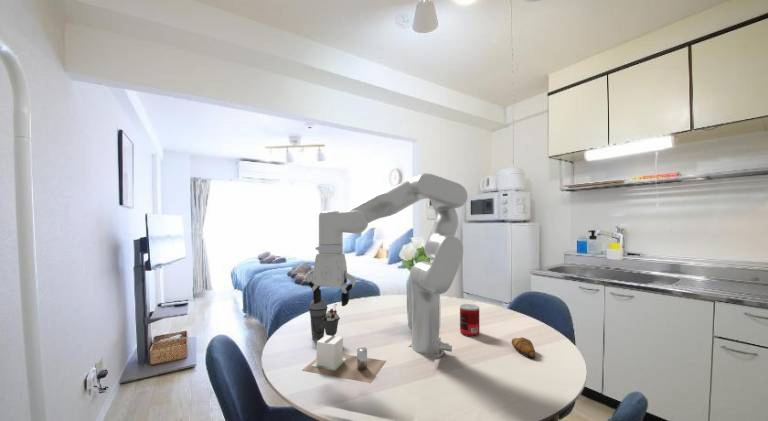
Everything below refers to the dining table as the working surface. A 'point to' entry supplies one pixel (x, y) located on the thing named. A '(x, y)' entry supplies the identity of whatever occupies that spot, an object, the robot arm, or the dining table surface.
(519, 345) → the croissant
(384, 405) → the dining table surface
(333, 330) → the sundae
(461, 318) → the canned food
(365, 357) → the post
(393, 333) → the dining table surface
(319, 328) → the beverage cup
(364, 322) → the dining table surface
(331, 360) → the white cardboard box
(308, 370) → the board
